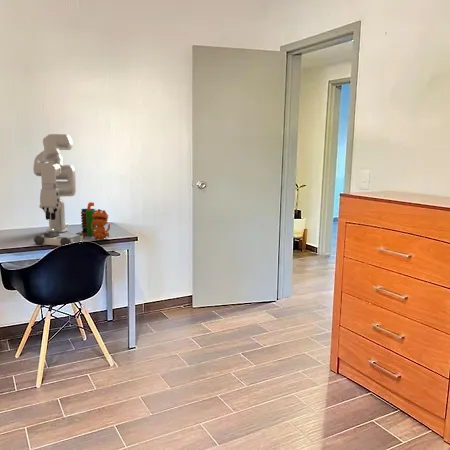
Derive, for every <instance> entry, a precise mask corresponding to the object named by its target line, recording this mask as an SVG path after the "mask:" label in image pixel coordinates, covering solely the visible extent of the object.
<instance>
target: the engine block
mask: <svg viewBox="0 0 450 450" xmlns="http://www.w3.org/2000/svg"><path fill="white" fill-rule="evenodd" d="M47 229H48V231H47V230H46V231H45V232H43V236H44V238H54V237H57V236H59V234H60V233H59V231H54V229H49V228H47Z"/></svg>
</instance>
